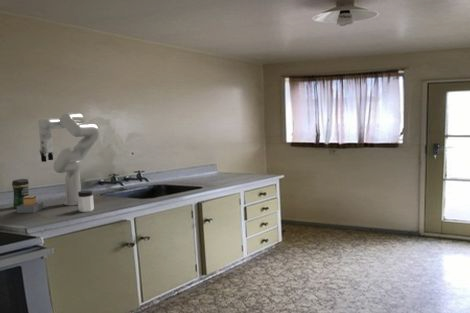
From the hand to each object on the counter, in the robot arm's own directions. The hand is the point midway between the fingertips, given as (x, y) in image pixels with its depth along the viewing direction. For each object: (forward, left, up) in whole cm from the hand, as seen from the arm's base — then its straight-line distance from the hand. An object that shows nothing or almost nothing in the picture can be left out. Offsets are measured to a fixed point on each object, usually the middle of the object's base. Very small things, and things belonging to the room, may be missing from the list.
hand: (47, 160), depth 275 cm
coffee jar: (+10, +18, -28) cm, 35 cm away
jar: (-38, +32, -28) cm, 57 cm away
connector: (-1, +29, -27) cm, 40 cm away
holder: (-1, +29, -28) cm, 41 cm away
